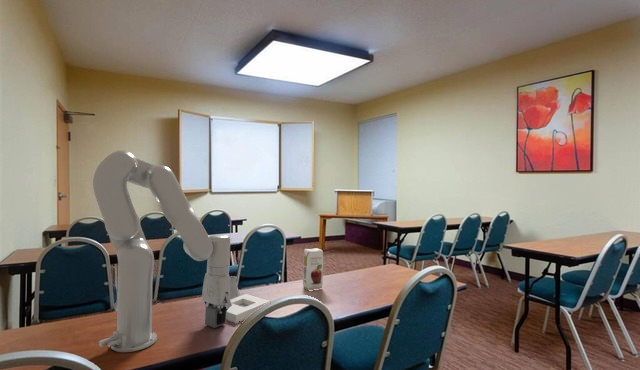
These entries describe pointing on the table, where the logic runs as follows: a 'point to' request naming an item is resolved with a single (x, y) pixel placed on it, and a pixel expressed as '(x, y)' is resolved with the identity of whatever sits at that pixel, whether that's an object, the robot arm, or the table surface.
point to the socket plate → (243, 307)
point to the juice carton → (313, 269)
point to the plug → (212, 316)
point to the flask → (233, 288)
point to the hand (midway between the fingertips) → (215, 321)
